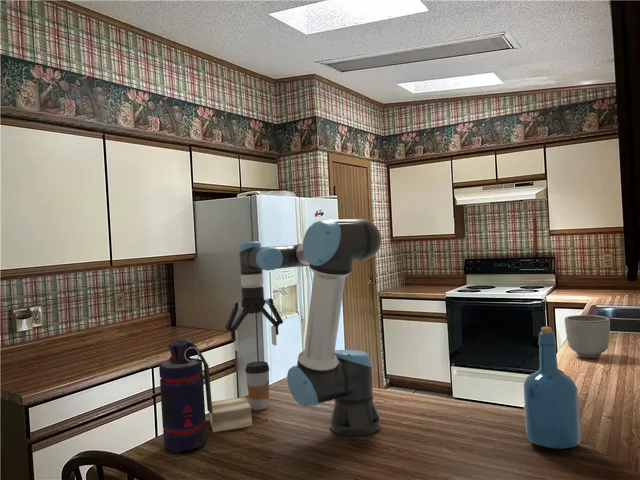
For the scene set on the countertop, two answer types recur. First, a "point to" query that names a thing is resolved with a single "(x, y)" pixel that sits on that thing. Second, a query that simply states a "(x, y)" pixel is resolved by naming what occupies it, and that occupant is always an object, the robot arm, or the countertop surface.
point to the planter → (588, 334)
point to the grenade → (184, 397)
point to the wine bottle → (551, 400)
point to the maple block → (230, 414)
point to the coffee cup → (258, 384)
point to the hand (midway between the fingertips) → (255, 347)
